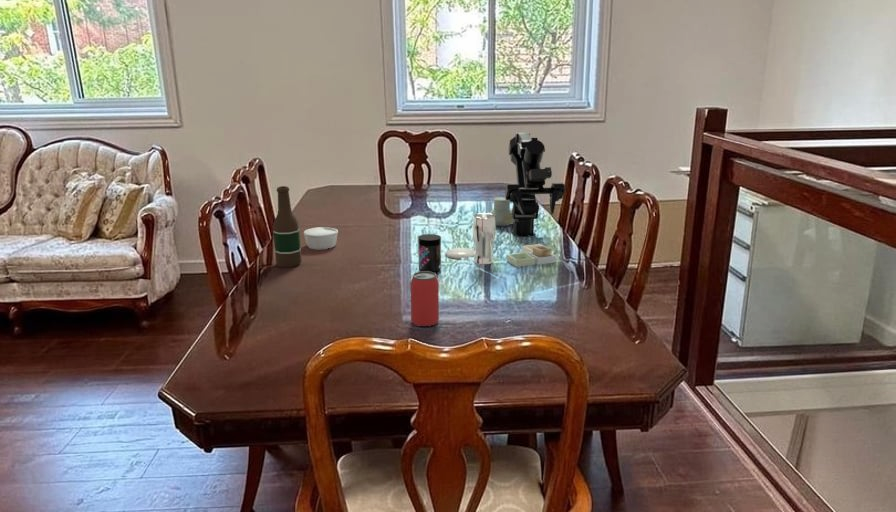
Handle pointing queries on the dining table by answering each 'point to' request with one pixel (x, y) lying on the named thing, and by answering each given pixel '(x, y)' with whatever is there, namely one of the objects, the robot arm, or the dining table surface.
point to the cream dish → (529, 248)
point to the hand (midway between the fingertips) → (538, 214)
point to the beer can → (424, 298)
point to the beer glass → (483, 237)
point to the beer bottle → (286, 232)
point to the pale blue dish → (543, 259)
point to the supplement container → (429, 252)
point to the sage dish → (520, 259)
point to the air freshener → (502, 212)
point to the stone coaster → (460, 253)
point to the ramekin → (321, 237)
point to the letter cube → (541, 251)
